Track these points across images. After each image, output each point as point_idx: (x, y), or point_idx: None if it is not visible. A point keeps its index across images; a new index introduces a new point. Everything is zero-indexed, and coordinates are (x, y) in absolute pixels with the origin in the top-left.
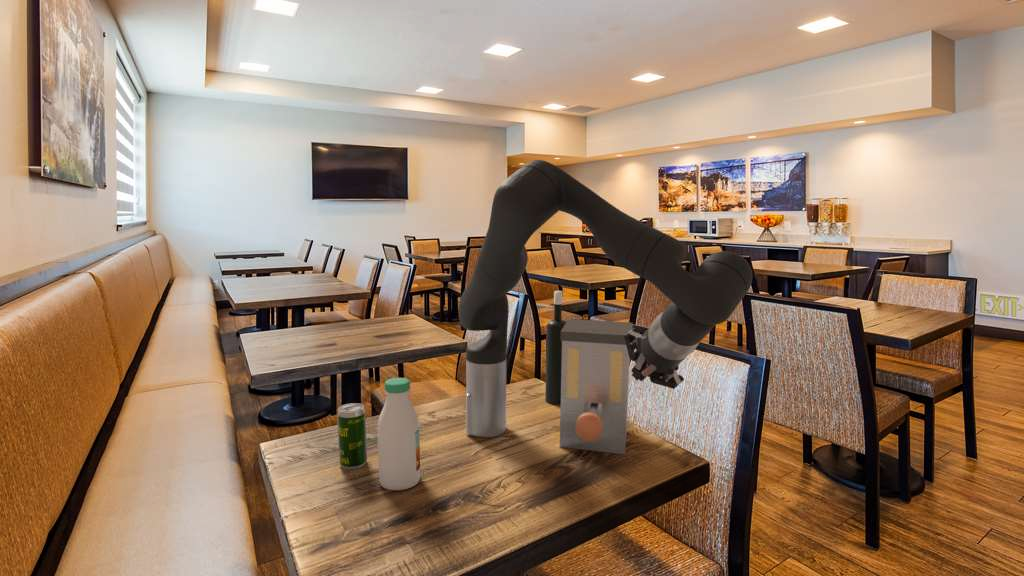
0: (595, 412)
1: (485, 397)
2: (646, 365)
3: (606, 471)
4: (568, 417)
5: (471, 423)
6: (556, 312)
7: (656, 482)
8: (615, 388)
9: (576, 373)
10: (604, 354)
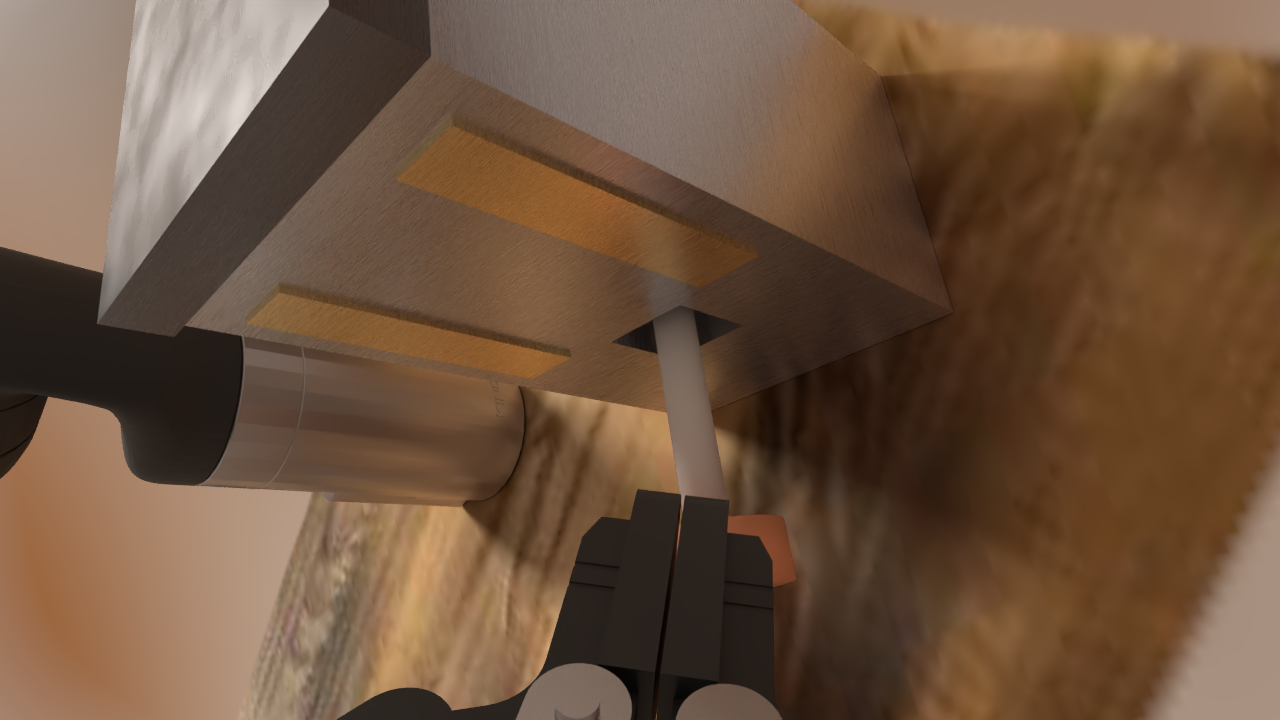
0: (689, 371)
1: (358, 483)
2: (651, 690)
3: (933, 539)
4: (620, 386)
5: (429, 499)
6: None
7: (1241, 540)
8: (665, 249)
9: (437, 334)
10: (402, 210)
